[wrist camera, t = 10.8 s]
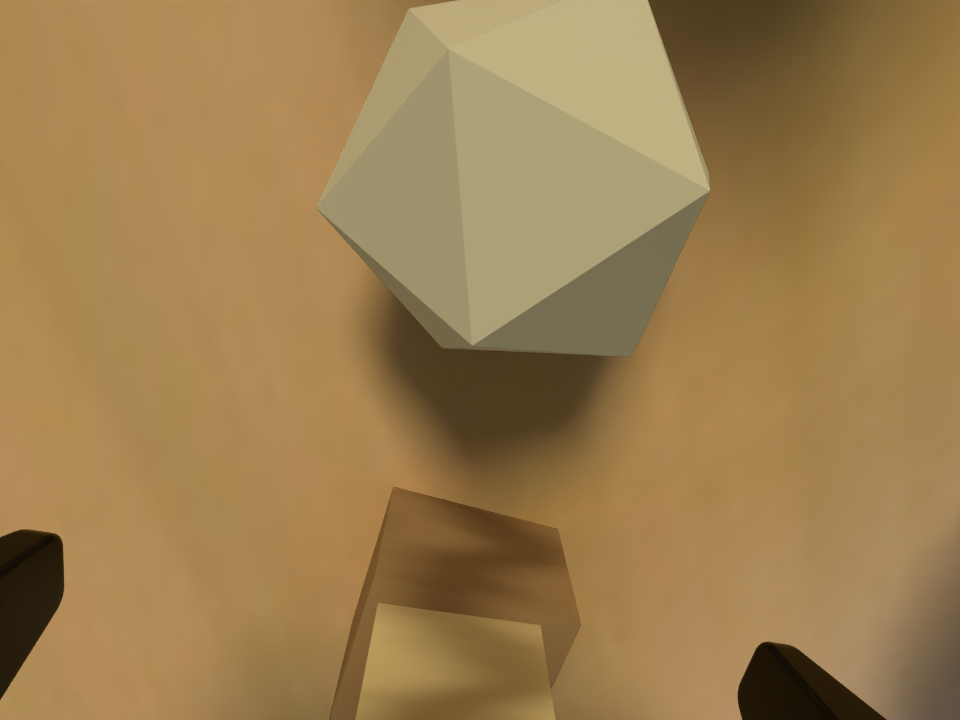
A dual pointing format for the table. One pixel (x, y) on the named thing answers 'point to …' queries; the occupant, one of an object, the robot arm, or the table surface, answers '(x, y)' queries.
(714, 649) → the table surface
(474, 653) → the oak block
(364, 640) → the walnut block
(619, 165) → the beige icosahedron
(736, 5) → the table surface
